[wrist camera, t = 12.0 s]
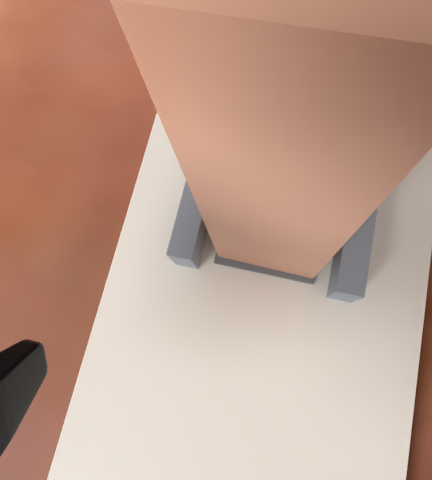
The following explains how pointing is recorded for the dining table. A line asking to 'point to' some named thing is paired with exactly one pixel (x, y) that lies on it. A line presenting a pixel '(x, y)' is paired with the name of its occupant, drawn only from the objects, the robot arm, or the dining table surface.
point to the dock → (250, 348)
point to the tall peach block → (287, 114)
